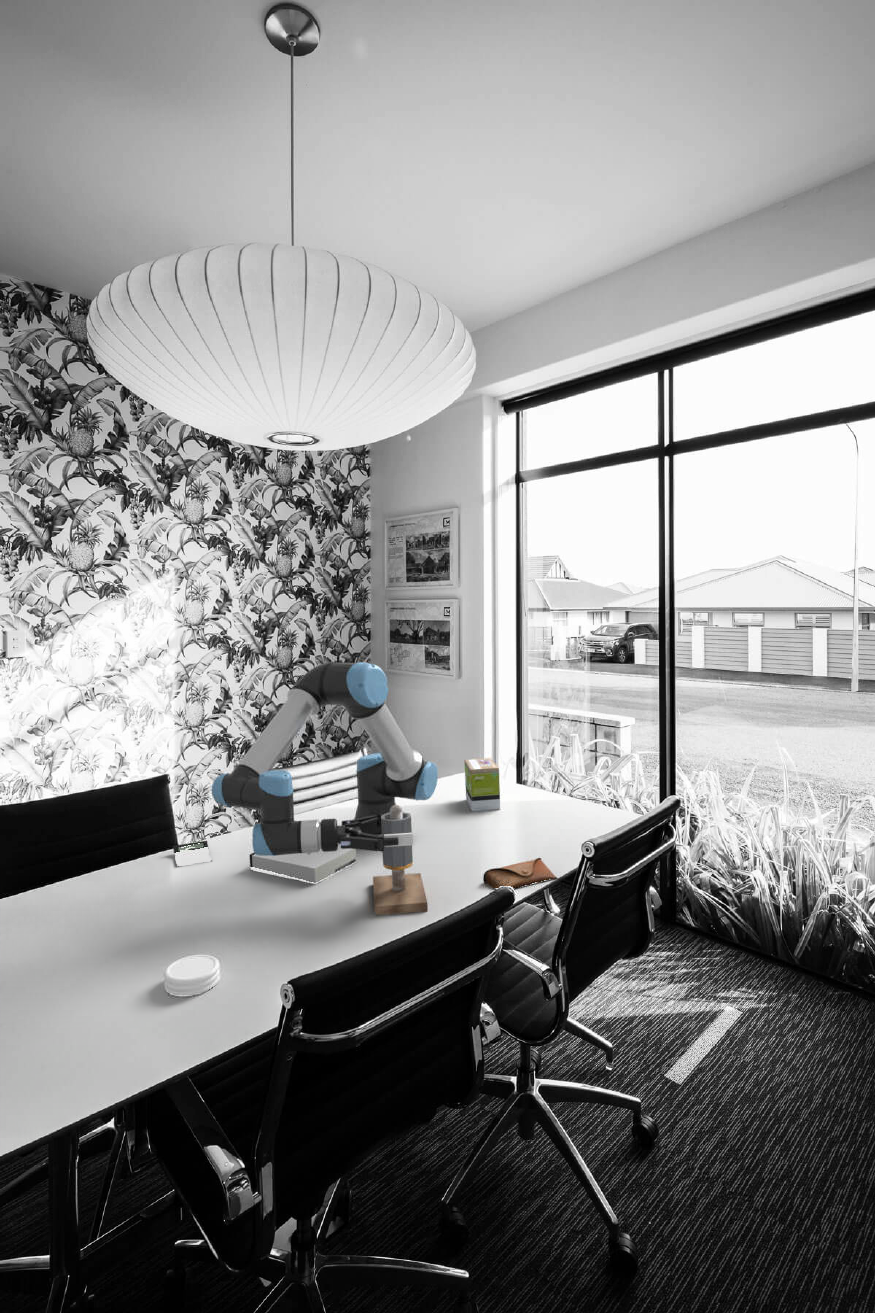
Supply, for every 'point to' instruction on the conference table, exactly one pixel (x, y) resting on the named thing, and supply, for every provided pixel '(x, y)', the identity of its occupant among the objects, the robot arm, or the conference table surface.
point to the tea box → (482, 784)
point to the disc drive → (306, 863)
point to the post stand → (399, 886)
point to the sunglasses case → (518, 874)
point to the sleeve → (397, 853)
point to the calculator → (196, 845)
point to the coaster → (192, 975)
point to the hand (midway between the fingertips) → (410, 829)
